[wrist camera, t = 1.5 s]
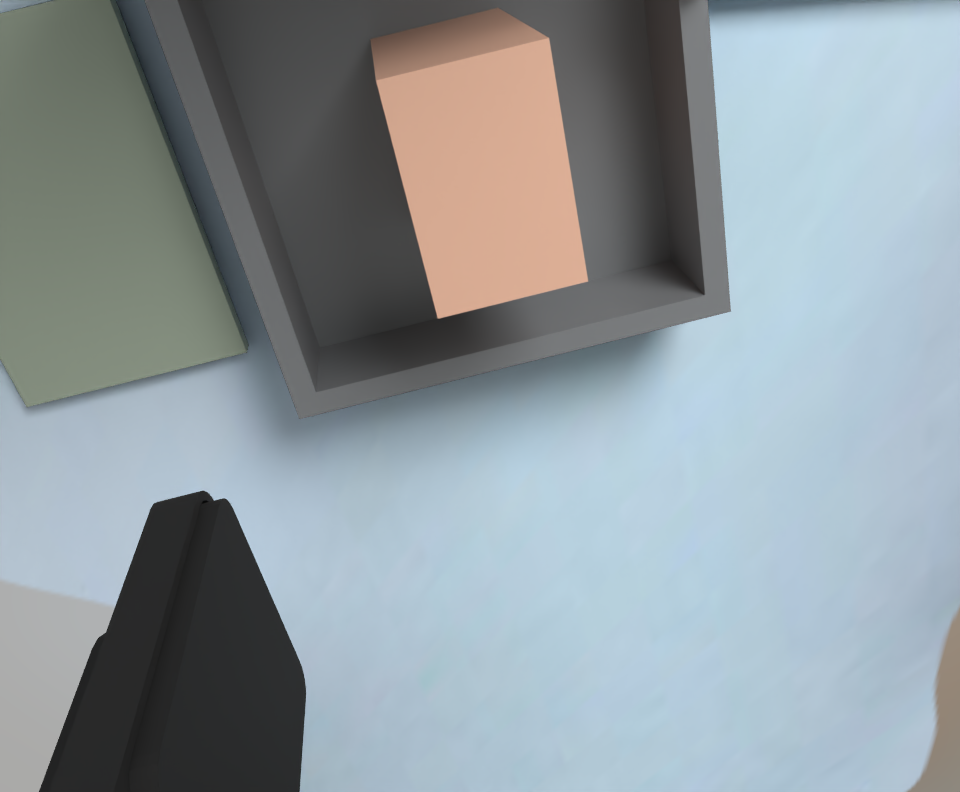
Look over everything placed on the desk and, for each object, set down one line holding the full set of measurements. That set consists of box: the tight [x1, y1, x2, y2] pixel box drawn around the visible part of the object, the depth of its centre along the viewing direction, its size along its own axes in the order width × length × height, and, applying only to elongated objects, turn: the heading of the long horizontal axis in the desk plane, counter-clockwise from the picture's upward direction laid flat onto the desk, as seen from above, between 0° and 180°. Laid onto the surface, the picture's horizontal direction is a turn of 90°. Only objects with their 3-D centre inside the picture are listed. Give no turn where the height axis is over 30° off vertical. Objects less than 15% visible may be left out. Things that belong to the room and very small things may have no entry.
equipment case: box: [144, 0, 731, 419], centre depth 19 cm, size 22×15×17 cm
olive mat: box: [0, 0, 249, 407], centre depth 28 cm, size 12×8×1 cm, turn 12°
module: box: [370, 8, 588, 319], centre depth 24 cm, size 6×4×8 cm, turn 12°
